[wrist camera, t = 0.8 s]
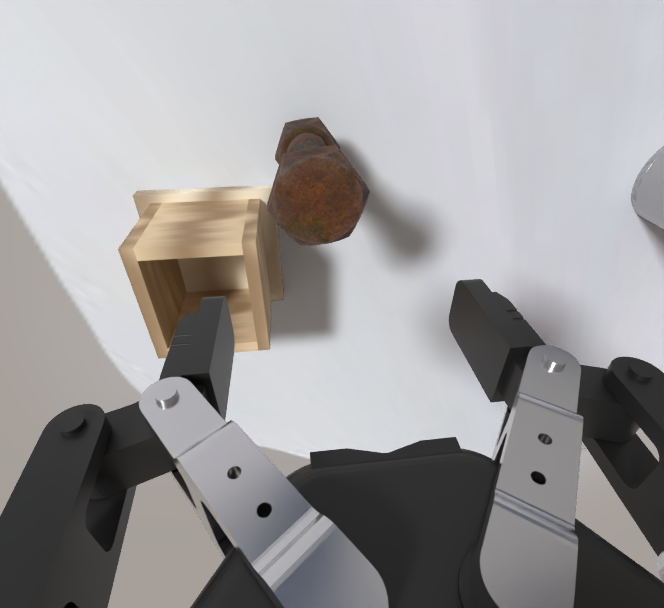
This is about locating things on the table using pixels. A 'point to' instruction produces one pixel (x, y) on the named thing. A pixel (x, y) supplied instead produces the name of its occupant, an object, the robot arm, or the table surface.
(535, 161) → the table surface
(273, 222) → the socket block
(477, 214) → the table surface
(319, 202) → the bolt
